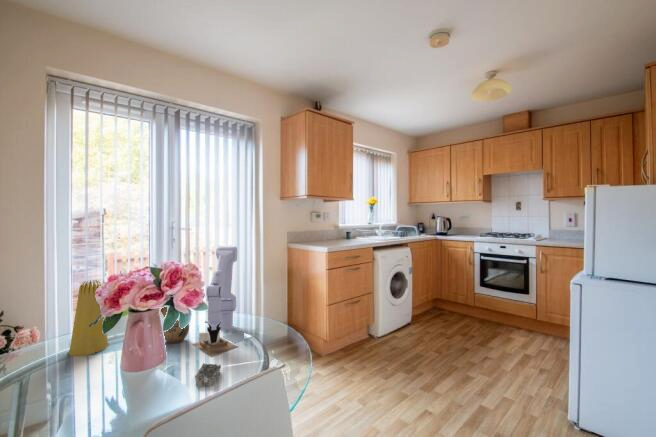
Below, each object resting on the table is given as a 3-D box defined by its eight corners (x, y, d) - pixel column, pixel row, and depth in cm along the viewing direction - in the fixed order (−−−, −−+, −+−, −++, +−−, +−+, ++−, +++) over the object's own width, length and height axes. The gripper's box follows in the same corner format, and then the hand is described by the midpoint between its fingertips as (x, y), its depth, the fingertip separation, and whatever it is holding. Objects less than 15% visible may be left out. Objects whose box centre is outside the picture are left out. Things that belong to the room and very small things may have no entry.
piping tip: (115, 345, 132) (116, 279, 131) (79, 358, 119) (80, 286, 119) (98, 339, 137) (99, 276, 137) (61, 351, 125) (63, 282, 125)
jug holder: (191, 345, 134) (191, 340, 134) (217, 337, 144) (217, 332, 144) (211, 358, 122) (211, 353, 122) (238, 348, 133) (238, 343, 132)
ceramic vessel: (196, 338, 142) (197, 287, 142) (188, 346, 133) (190, 292, 133) (162, 338, 141) (163, 286, 141) (151, 346, 132) (153, 291, 132)
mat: (222, 337, 143) (222, 336, 143) (241, 331, 152) (241, 330, 152) (234, 344, 136) (234, 343, 136) (254, 337, 145) (254, 336, 145)
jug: (219, 342, 137) (219, 327, 137) (219, 346, 132) (219, 331, 132) (199, 344, 134) (199, 329, 134) (198, 349, 129) (198, 333, 129)
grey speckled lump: (214, 387, 103) (214, 376, 103) (192, 388, 102) (192, 376, 102) (222, 371, 113) (223, 361, 113) (202, 371, 113) (203, 361, 112)
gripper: (205, 306, 139) (205, 334, 139) (204, 316, 126) (203, 347, 126) (221, 305, 142) (220, 333, 142) (221, 315, 128) (220, 345, 128)
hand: (213, 339), depth 134 cm, fingers closed on jug, 5 cm apart
